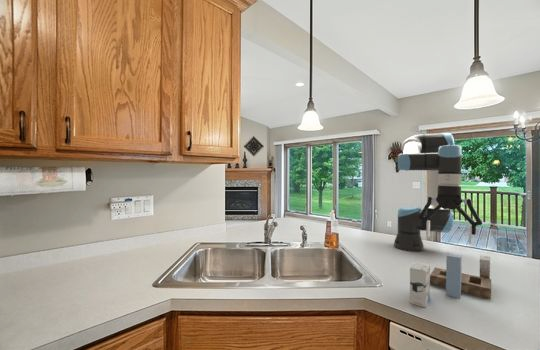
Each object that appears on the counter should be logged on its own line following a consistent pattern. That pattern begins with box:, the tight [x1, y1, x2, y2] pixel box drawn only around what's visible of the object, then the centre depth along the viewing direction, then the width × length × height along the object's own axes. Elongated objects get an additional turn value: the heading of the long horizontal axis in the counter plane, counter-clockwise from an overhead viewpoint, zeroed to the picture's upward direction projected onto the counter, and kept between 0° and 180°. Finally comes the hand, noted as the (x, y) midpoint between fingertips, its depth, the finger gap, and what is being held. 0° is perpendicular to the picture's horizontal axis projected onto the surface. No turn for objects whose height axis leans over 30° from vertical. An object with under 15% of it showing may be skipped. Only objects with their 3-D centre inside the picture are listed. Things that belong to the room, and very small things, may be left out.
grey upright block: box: [479, 254, 491, 279], centre depth 103 cm, size 3×6×10 cm, turn 139°
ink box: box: [409, 261, 431, 308], centre depth 88 cm, size 8×5×12 cm, turn 141°
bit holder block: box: [430, 267, 492, 300], centre depth 100 cm, size 18×11×4 cm, turn 49°
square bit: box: [445, 252, 463, 299], centre depth 93 cm, size 4×4×14 cm
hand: (448, 240), depth 102 cm, fingers open, 13 cm apart
